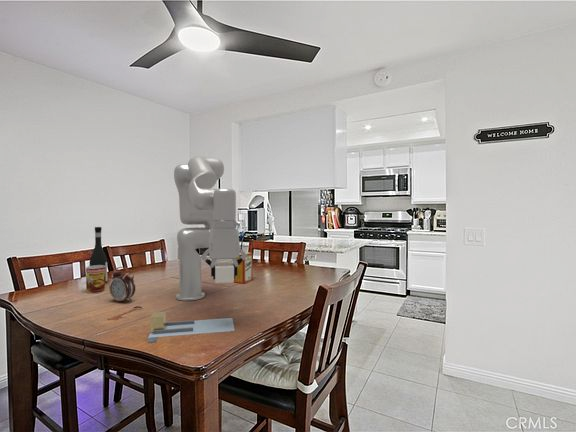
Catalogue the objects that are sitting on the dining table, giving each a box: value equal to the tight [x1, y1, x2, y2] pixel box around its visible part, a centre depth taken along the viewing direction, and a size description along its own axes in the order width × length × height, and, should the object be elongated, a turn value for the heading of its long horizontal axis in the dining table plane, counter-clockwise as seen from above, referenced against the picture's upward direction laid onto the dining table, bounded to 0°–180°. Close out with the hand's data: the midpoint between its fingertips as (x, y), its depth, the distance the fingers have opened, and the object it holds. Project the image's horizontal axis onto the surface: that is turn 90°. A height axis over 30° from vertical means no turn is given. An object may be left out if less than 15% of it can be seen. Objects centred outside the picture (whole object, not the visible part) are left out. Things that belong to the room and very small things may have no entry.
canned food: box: [85, 265, 106, 295], centre depth 152 cm, size 8×8×12 cm
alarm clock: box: [108, 266, 136, 304], centre depth 136 cm, size 11×5×15 cm, turn 70°
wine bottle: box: [89, 226, 108, 284], centre depth 166 cm, size 8×8×30 cm
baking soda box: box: [232, 251, 254, 285], centre depth 174 cm, size 10×6×16 cm
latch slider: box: [149, 310, 167, 334], centre depth 102 cm, size 5×4×5 cm
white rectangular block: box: [214, 261, 234, 284], centre depth 107 cm, size 9×6×5 cm, turn 13°
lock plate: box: [147, 317, 235, 344], centre depth 105 cm, size 12×26×2 cm, turn 103°
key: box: [107, 305, 143, 321], centre depth 121 cm, size 6×1×15 cm
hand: (224, 277), depth 107 cm, fingers closed on white rectangular block, 6 cm apart
